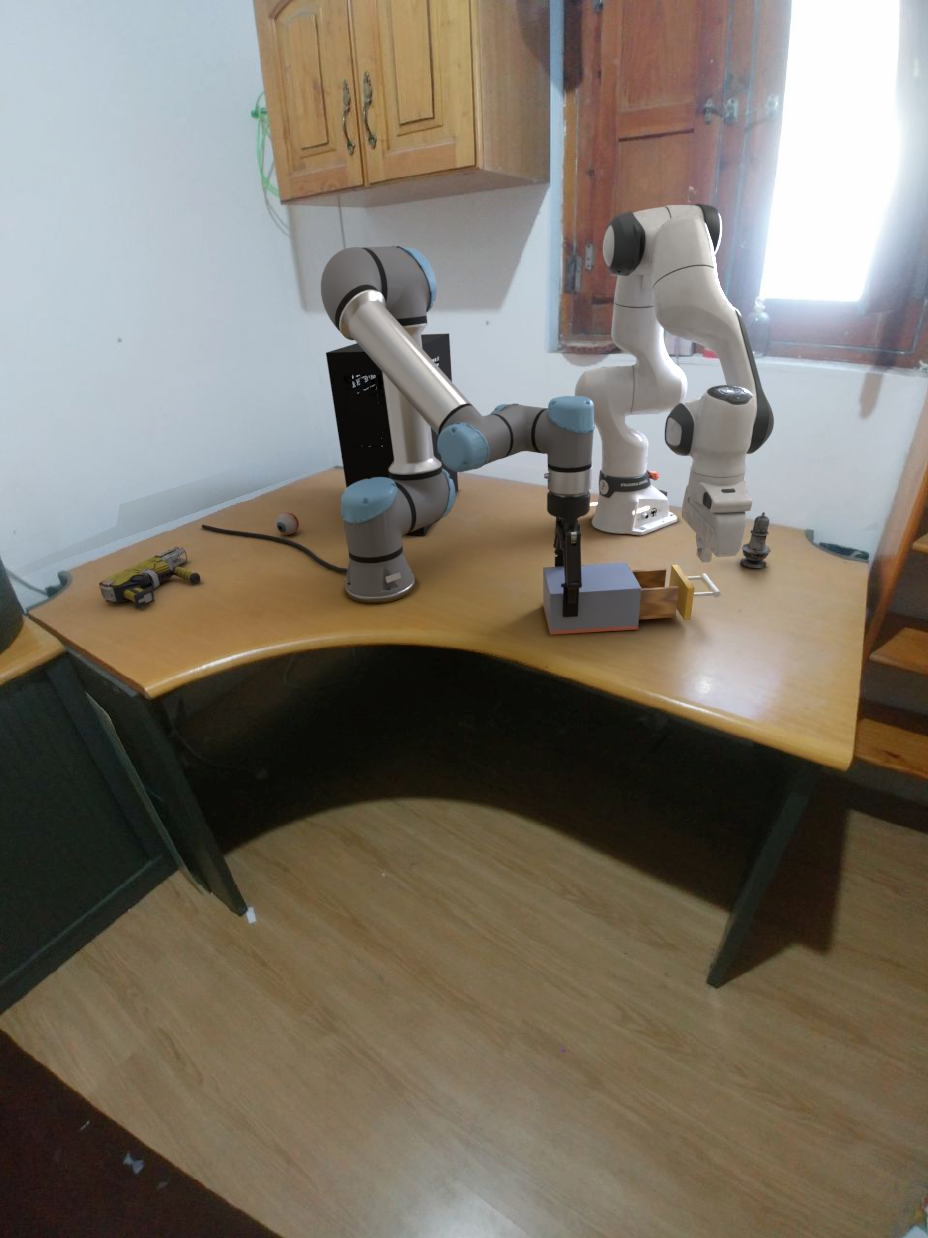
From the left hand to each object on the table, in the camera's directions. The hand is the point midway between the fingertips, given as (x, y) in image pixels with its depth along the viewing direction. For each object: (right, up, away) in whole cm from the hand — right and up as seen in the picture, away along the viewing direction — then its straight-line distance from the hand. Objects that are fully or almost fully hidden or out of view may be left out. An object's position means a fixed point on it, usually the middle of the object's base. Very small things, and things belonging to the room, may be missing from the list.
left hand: (565, 600), depth 116 cm
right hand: (+25, +8, -5) cm, 26 cm away
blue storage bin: (+5, -3, +2) cm, 6 cm away
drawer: (+18, -2, +1) cm, 18 cm away
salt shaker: (+45, +9, +19) cm, 50 cm away
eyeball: (-68, +20, +49) cm, 86 cm away
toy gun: (-89, +4, +25) cm, 93 cm away
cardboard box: (-36, +28, +61) cm, 76 cm away
